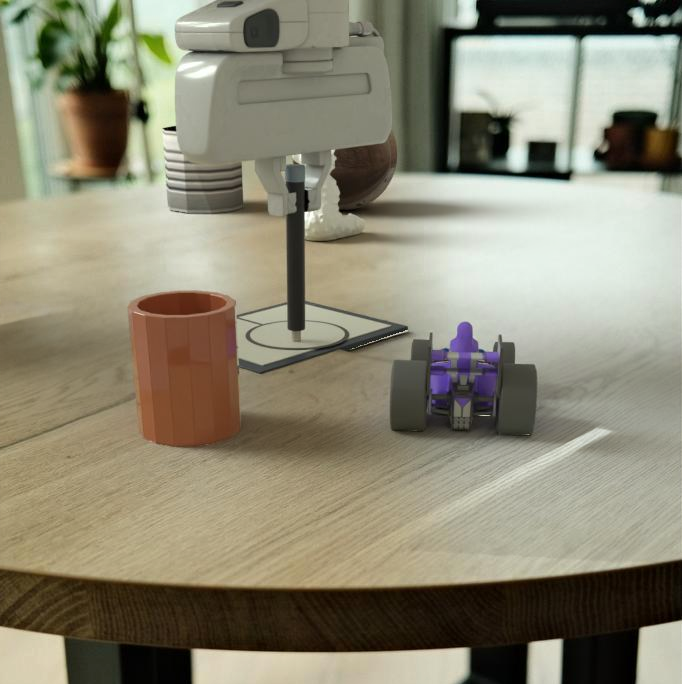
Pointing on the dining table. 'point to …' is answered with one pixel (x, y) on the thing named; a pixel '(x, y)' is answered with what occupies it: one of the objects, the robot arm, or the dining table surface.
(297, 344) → the white flat board
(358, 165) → the wooden sphere
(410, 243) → the dining table surface
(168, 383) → the cup
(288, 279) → the pen
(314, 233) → the white creature statuette
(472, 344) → the toy race car
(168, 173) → the can
